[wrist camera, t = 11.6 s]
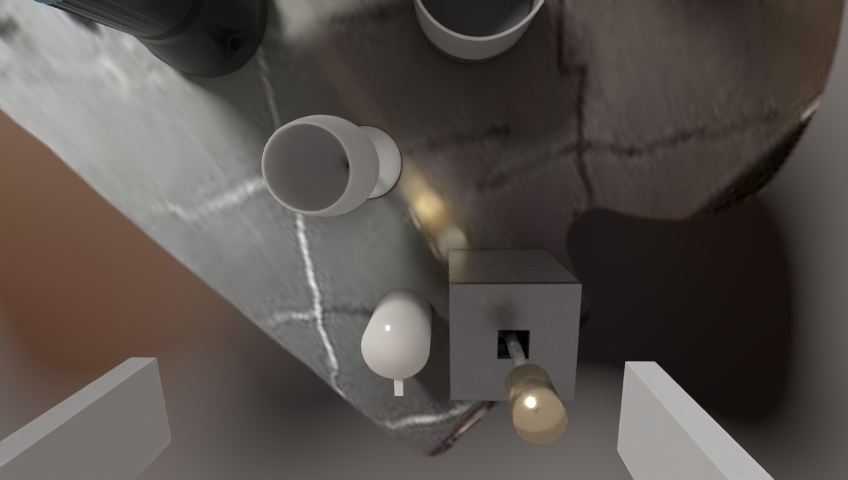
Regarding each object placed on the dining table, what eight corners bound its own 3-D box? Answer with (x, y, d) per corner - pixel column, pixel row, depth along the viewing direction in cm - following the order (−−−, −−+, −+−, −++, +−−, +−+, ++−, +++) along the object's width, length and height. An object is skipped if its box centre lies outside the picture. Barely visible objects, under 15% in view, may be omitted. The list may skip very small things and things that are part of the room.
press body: (449, 336, 52) (450, 400, 39) (448, 249, 50) (449, 284, 36) (540, 337, 52) (574, 401, 38) (544, 248, 49) (582, 284, 36)
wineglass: (380, 112, 47) (328, 80, 26) (413, 178, 48) (389, 196, 28) (318, 147, 48) (222, 141, 27) (352, 210, 49) (286, 249, 29)
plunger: (459, 333, 50) (470, 479, 28) (459, 262, 48) (471, 357, 26) (533, 333, 50) (606, 482, 27) (536, 262, 48) (618, 358, 25)
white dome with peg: (377, 362, 54) (364, 403, 45) (374, 288, 51) (359, 315, 43) (433, 363, 53) (430, 404, 44) (432, 288, 51) (429, 316, 42)
